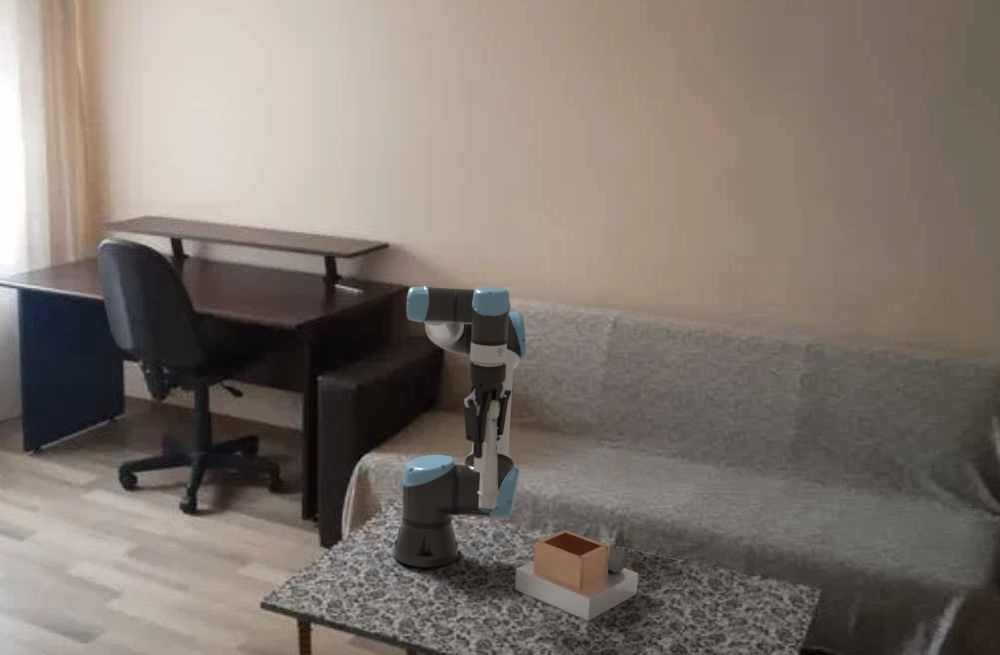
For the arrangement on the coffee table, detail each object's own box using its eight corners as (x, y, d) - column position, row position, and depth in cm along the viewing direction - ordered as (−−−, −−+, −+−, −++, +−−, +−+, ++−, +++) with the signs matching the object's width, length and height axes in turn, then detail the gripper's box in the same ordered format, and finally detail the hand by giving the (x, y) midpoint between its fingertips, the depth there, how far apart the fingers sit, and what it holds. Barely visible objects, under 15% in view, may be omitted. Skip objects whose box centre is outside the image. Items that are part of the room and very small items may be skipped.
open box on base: (515, 589, 226) (517, 538, 224) (565, 565, 240) (568, 517, 237) (588, 621, 213) (591, 567, 211) (636, 594, 227) (640, 543, 224)
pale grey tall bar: (493, 513, 216) (498, 398, 211) (463, 509, 218) (468, 394, 213) (501, 505, 221) (506, 393, 216) (472, 501, 223) (476, 389, 218)
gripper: (477, 371, 205) (472, 483, 209) (525, 360, 216) (519, 467, 220) (450, 364, 210) (446, 473, 214) (498, 354, 221) (493, 458, 225)
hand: (483, 470), depth 217 cm, fingers closed on pale grey tall bar, 2 cm apart
